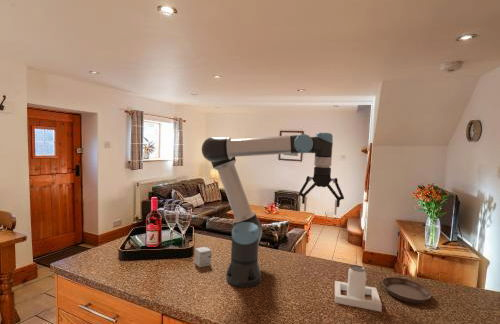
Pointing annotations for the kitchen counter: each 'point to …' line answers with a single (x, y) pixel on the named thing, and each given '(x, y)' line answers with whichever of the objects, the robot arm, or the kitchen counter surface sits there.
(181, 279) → the kitchen counter surface
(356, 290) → the can
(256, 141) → the robot arm
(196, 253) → the skincare box
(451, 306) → the kitchen counter surface
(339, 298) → the socket collar
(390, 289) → the plant saucer
